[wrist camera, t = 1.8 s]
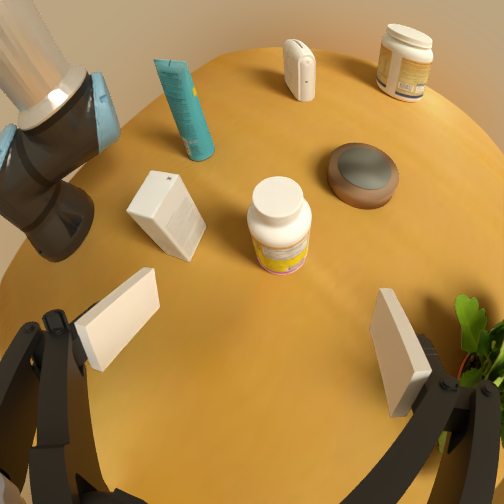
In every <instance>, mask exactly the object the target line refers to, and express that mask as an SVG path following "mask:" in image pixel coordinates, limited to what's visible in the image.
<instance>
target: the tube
mask: <svg viewBox="0 0 504 504" xmlns="http://www.w3.org/2000/svg"><path fill="white" fill-rule="evenodd" d="M154 63H155V66H156V69H157V72H158V75H159V78H160V81H161V84H162V86H163V89H164V92H165V95H166V98H167V101H168V103H169V106H170V109H171V112H172V114H173V117H174V119H175V122H176V125H177V127H178V130H179V133H180V135H181V138H182V141H183V143H184V146H185V148H186V151H187V154H188V156H189V158H190V159H191V160H194V161H202V160H205V159H207V158H209V157H210V156H211V155H212V154H213V153H214V151H215V147H214V144H213V141H212V138H211V135H210V132H209V129H208V126H207V123H206V120H205V117H204V114H203V111H202V108H201V105H200V102H199V99H198V96H197V93H196V90H195V87H194V84H193V81H192V78H191V75H190V72H189V69H188V66H187V61H174V60H164V59H154Z"/></svg>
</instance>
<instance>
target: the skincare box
mask: <svg viewBox="0 0 504 504" xmlns="http://www.w3.org/2000/svg"><path fill="white" fill-rule="evenodd" d="M126 211H127V213H128V214H129V215H130V216H131V217H132V218H133V219H134V220H135V221H136V222H137V223H138V225H139V226H140V227H141V228H142V229H143V230H144V231H145V232H146V233H147V234H148V235H149V236H150V237H151V238H152V239H153V240H154V242H155V243H156V244H157V245H158V246H159V247H160V248H161V249H162V250H163V251H164V252H165V253H166V254H168V255H170V256H174V257H176V258H179V259H182V260H184V261H187V262H190V261H191V259H192V257H193V254H194V252H195V250H196V248H197V246H198V244H199V242H200V240H201V238H202V236H203V234H204V231H205V229H206V228H207V226H206V224H205V222H204V220H203V218H202V217H201V215H200V213H199V211H198V209H197V207H196V206H195V204H194V202H193V200H192V198H191V196H190V194H189V193H188V191H187V189H186V187H185V185H184V183H183V181H182V179H181V177H180V176H179V175H178V174H172V173H165V172H160V171H150V173H149V174H148V176H147V178H146V179H145V181H144V182H143V184H142V186H141V187H140V189H139V190H138V192H137V194H136V195H135V197H134V199H133V200H132V202H131V204H130V205H129V207H128V209H127V210H126Z"/></svg>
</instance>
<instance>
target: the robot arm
mask: <svg viewBox="0 0 504 504" xmlns="http://www.w3.org/2000/svg"><path fill="white" fill-rule="evenodd" d="M0 88H1V89H2V91H3V92H4V93H5V94H6V95H7V97H8V98H9V99H10V100H11V101H12V103H13V104H14V105H15V106H16V107H17V108H18V109H19V116H18V127H19V129H17V126H16V125H14V124H9V125H8V126H6V127H5V128H4V129H3V130H2V131H1V133H0V215H2V216H3V217H4V218H5V219H7V220H8V221H9V222H11V223H12V224H13V225H15V226H16V227H17V228H19V229H20V230H21V231H23V232H24V233H25V234H26V236H27V238H28V239H29V241H30V242H31V244H32V245H33V246H34V248H35V249H36V251H37V252H38V254H39V255H41V256H42V257H43V258H45V259H47V260H48V261H50V262H59V261H61V260H64V259H66V258H67V257H69V256H70V255H71V254H72V253H73V252H74V251H75V250H76V249H77V248H78V247H79V246H80V245H81V243H82V242H83V240H84V239H85V237H86V235H87V234H88V231H89V229H90V227H91V224H92V221H93V217H94V204H93V201H92V199H91V197H90V196H89V195H88V194H87V193H86V192H85V191H84V190H82V189H81V188H78V187H76V186H74V185H72V184H70V183H67V182H65V181H63V180H61V179H62V178H64V177H65V176H67V175H68V174H69V173H71V172H72V171H74V170H75V169H77V168H78V167H80V166H81V165H83V164H84V163H86V162H87V161H89V160H90V159H92V158H93V157H95V156H96V155H98V154H99V155H100V154H101V153H102V151H103V150H105V149H106V148H108V147H109V146H111V145H112V144H114V143H115V142H116V141H117V140H118V139H119V137H120V134H121V129H120V125H119V121H118V118H117V115H116V112H115V108H114V105H113V102H112V99H111V96H110V93H109V90H108V88H107V85H106V82H105V79H104V77H103V75H102V73H101V72H100V71H99V72H93V73H91V75H89V74H88V72H87V71H86V69H85V68H84V66H82V65H70V64H68V62H67V60H66V59H65V57H64V55H63V54H62V52H61V50H60V49H59V47H58V45H57V43H56V42H55V40H54V38H53V37H52V35H51V33H50V31H49V30H48V28H47V26H46V24H45V23H44V21H43V19H42V17H41V15H40V13H39V12H38V10H37V8H36V6H35V4H34V2H33V0H0ZM159 308H160V304H159V298H158V292H157V285H156V279H155V271H154V268H147V267H143V268H142V269H141V270H139V271H138V272H137V273H135V274H134V275H133V276H132V277H130V278H129V279H128V280H126V281H125V282H124V283H123V284H121V285H120V286H119V287H117V288H116V289H115V290H114V291H112V292H111V293H110V294H109V295H107V296H106V297H105V298H104V299H102V300H101V301H99V302H97V303H95V304H93V305H92V306H90V307H89V308H88V310H86V311H84V312H83V313H82V314H81V315H79V316H78V317H77V318H76V319H75V320H73V321H72V322H71V323H70V324H68V321H67V318H66V315H65V312H64V311H63V310H60V309H56V310H51V311H49V312H47V313H46V314H45V315H43V317H42V320H43V323H44V325H45V328H46V330H47V331H42V330H41V328H40V326H39V323H37V322H27V323H25V324H24V325H23V326H22V327H21V328H20V330H19V331H18V333H17V334H16V336H15V337H14V339H13V341H12V342H11V344H10V346H9V347H8V349H7V351H6V352H5V354H4V356H3V358H2V359H1V361H0V504H26V502H25V500H24V499H23V498H22V497H21V496H20V494H21V491H22V489H23V486H24V483H25V479H26V474H27V469H28V464H29V475H30V486H31V494H32V502H33V504H148V503H146V502H145V501H143V500H142V499H139V498H137V497H135V496H132V495H130V494H128V493H126V492H124V491H122V490H119V489H117V488H116V489H115V490H114V492H110V491H109V489H108V487H107V485H106V484H105V482H104V480H103V478H102V475H101V471H100V467H99V462H98V458H97V453H96V448H95V442H94V437H93V431H92V424H91V417H90V409H89V400H88V389H87V375H86V367H85V364H84V363H85V361H86V360H87V359H88V361H89V363H90V365H91V368H93V369H96V370H98V371H101V372H103V371H104V370H105V369H106V368H107V367H108V365H109V364H110V363H111V362H112V361H113V360H114V358H115V357H116V356H117V355H118V354H119V353H120V352H121V350H122V349H123V348H124V347H125V346H126V345H127V343H128V342H129V341H130V340H131V339H132V338H133V337H134V336H135V334H136V333H137V332H138V331H139V330H140V329H141V328H142V327H143V325H144V324H145V323H146V322H147V321H148V320H149V319H150V318H151V316H152V315H153V314H154V313H155V312H156V311H157V310H158V309H159ZM369 330H370V333H371V337H372V340H373V344H374V348H375V352H376V356H377V359H378V363H379V367H380V372H381V376H382V380H383V384H384V389H385V394H386V398H387V403H388V408H389V413H390V417H401V416H407V414H408V412H409V411H410V409H411V407H412V411H413V416H412V418H411V419H410V421H409V422H408V423H407V425H406V426H405V428H404V429H403V431H402V432H401V434H400V435H399V436H398V438H397V439H396V440H395V442H394V443H393V444H392V446H391V447H390V448H389V450H388V451H387V452H386V453H385V455H384V456H383V457H382V458H381V460H380V461H379V462H378V463H377V464H376V466H375V467H374V468H373V469H372V470H371V471H370V472H369V474H368V475H367V476H366V477H365V478H364V479H363V480H362V481H361V482H360V483H359V485H358V486H357V487H356V488H355V489H354V490H353V491H352V492H351V493H350V494H349V495H348V496H347V497H346V498H345V499H344V500H343V501H342V502H341V503H340V504H396V503H397V502H398V501H399V500H400V498H401V497H402V496H403V494H404V493H405V492H406V490H407V489H408V487H409V486H410V485H411V483H412V482H413V480H414V479H415V477H416V476H417V474H418V473H419V471H420V470H421V468H422V466H423V465H424V463H425V462H426V460H427V458H428V457H429V455H430V453H431V451H432V450H433V448H434V446H435V444H436V443H437V441H438V439H439V437H440V435H441V433H442V431H446V432H447V436H446V441H445V445H444V450H443V454H442V458H441V462H440V465H439V469H438V472H437V476H436V479H435V482H434V485H433V488H432V491H431V494H430V497H429V500H428V502H427V504H491V503H492V499H493V494H494V489H495V483H496V477H497V469H498V461H499V450H500V431H501V408H500V392H499V388H498V387H497V385H496V384H495V383H493V382H492V381H489V380H481V381H479V382H478V384H477V385H476V387H475V388H470V387H463V386H461V384H460V382H459V381H458V379H457V378H456V377H454V376H452V375H449V374H446V372H445V369H444V367H443V365H442V363H441V361H440V359H439V357H438V355H437V353H436V351H435V349H434V347H433V345H432V343H431V341H430V340H429V339H428V338H427V337H426V336H425V335H424V334H421V335H416V334H415V332H414V330H413V328H412V326H411V324H410V322H409V320H408V318H407V316H406V314H405V312H404V310H403V308H402V306H401V304H400V303H399V301H398V299H397V297H396V295H395V293H394V291H393V290H392V288H379V292H378V296H377V301H376V305H375V309H374V313H373V317H372V321H371V325H370V328H369ZM31 358H32V360H33V362H34V363H33V365H31V364H30V359H31ZM36 428H37V446H36V447H32V444H33V440H34V436H35V432H36Z"/></svg>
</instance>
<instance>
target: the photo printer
mask: <svg viewBox="0 0 504 504" xmlns="http://www.w3.org/2000/svg"><path fill="white" fill-rule="evenodd" d="M283 57H284V74H285V82H286V84H287V86H288V87H289V89H290V90H291V92H292V93H293V95H294V96H295V98H296V99H297V100H298V101H301V102H308V101H311V100H312V99H314V96H315V58H314V55H313V54H312V52H311V51H310V49H309V48H308V47H307V46H306V45H305V44H304V43H302V42H301V41H299V40H296V39H291V40H290V39H288V40H286V41H285V42H284V44H283Z"/></svg>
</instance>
